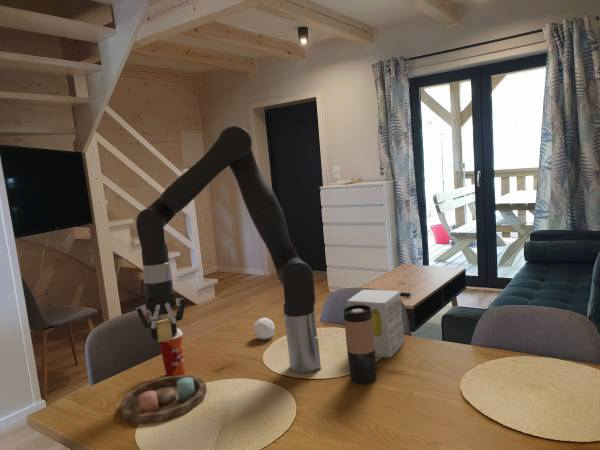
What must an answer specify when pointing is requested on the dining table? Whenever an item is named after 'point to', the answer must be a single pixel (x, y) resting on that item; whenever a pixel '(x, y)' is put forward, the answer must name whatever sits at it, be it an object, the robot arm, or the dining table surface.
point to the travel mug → (360, 344)
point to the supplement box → (383, 319)
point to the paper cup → (173, 355)
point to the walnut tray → (164, 410)
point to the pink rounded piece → (148, 402)
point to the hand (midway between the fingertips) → (164, 337)
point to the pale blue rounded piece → (185, 389)
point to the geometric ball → (264, 328)
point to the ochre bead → (164, 330)
